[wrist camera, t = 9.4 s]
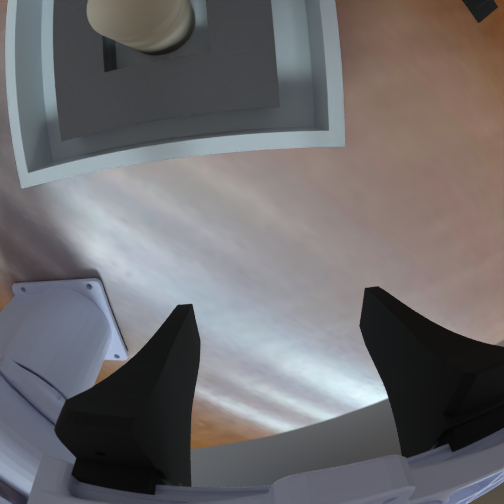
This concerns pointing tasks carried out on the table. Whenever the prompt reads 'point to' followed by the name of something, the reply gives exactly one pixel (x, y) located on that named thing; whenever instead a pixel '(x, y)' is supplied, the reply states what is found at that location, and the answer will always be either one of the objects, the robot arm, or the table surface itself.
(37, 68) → the tray
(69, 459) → the robot arm
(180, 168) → the table surface
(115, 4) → the peg
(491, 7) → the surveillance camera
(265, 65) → the plate
